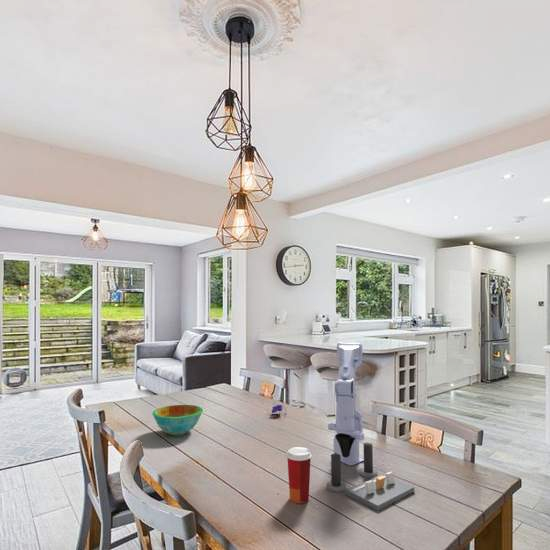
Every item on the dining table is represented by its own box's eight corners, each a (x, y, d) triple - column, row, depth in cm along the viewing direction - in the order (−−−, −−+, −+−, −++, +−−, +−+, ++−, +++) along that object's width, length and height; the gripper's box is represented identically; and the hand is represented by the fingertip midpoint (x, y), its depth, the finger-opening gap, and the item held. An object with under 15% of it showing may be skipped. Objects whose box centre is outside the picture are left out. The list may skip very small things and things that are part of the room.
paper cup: (310, 492, 121) (309, 446, 122) (313, 505, 113) (313, 455, 114) (285, 492, 121) (285, 446, 122) (286, 505, 113) (286, 456, 114)
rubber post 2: (356, 473, 134) (355, 443, 135) (367, 469, 138) (366, 440, 139) (369, 479, 130) (369, 448, 130) (381, 474, 133) (380, 444, 134)
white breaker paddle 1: (366, 493, 117) (364, 482, 117) (371, 490, 118) (370, 480, 119) (369, 494, 116) (367, 483, 117) (374, 491, 117) (373, 480, 118)
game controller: (265, 405, 210) (283, 401, 211) (269, 421, 207) (287, 416, 209) (266, 404, 201) (285, 400, 202) (270, 421, 198) (289, 416, 199)
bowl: (141, 439, 169) (142, 415, 170) (167, 424, 190) (168, 403, 191) (189, 443, 163) (189, 419, 164) (210, 427, 185) (210, 405, 186)
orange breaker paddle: (375, 487, 120) (376, 477, 120) (380, 484, 122) (381, 475, 122) (378, 489, 119) (379, 479, 119) (383, 486, 121) (384, 477, 121)
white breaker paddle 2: (386, 483, 123) (385, 473, 124) (391, 481, 125) (390, 471, 125) (389, 484, 122) (388, 474, 123) (394, 482, 124) (393, 471, 124)
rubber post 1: (322, 487, 125) (322, 454, 125) (335, 481, 128) (335, 450, 129) (336, 494, 120) (336, 460, 121) (349, 488, 124) (349, 456, 124)
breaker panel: (345, 494, 120) (345, 488, 120) (382, 478, 130) (382, 473, 131) (378, 511, 110) (377, 504, 110) (414, 492, 121) (414, 486, 121)
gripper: (321, 412, 136) (322, 452, 135) (353, 422, 125) (354, 466, 124) (335, 409, 140) (336, 448, 139) (367, 418, 129) (368, 460, 128)
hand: (345, 456), depth 132 cm, fingers closed
